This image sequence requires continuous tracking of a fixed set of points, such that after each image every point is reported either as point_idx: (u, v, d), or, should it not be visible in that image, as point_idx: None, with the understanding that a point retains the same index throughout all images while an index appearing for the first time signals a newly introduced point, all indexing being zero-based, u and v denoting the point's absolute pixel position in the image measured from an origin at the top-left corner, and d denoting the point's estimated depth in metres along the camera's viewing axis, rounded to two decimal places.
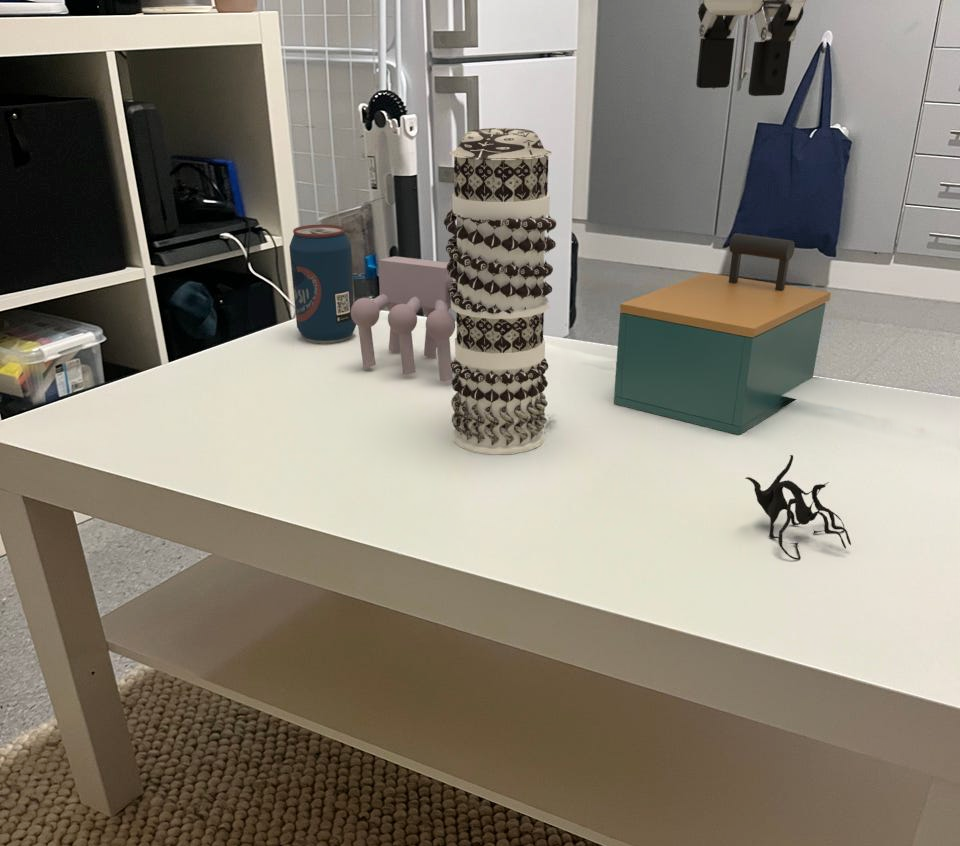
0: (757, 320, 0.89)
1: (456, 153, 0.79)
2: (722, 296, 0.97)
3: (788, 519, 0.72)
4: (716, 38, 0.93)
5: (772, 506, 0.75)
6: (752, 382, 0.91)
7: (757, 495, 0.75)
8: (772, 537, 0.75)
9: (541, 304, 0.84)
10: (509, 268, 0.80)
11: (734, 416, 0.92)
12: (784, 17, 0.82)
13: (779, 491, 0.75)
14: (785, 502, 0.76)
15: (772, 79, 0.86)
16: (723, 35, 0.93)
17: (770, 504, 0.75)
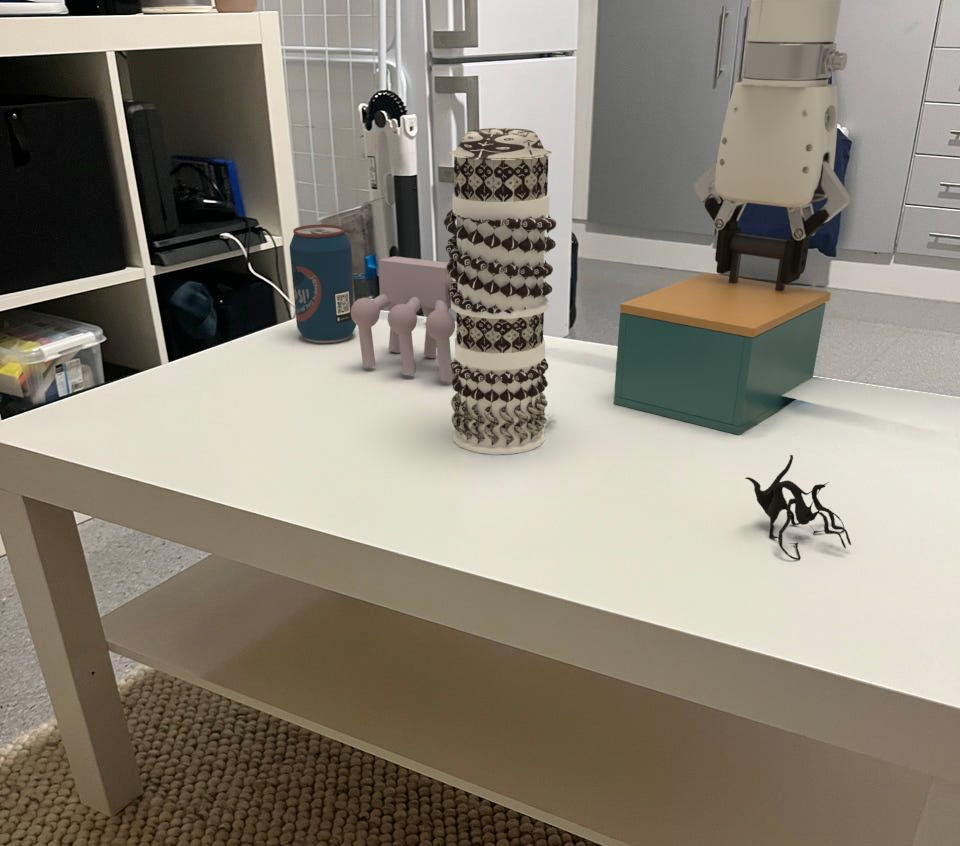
0: (757, 320, 0.89)
1: (456, 153, 0.79)
2: (722, 296, 0.97)
3: (788, 519, 0.72)
4: (732, 229, 0.99)
5: (772, 506, 0.75)
6: (752, 382, 0.91)
7: (757, 495, 0.75)
8: (772, 538, 0.75)
9: (541, 304, 0.84)
10: (509, 268, 0.80)
11: (734, 416, 0.92)
12: (823, 221, 0.93)
13: (779, 491, 0.75)
14: (785, 502, 0.76)
15: (801, 269, 0.97)
16: (735, 226, 0.99)
17: (770, 504, 0.75)
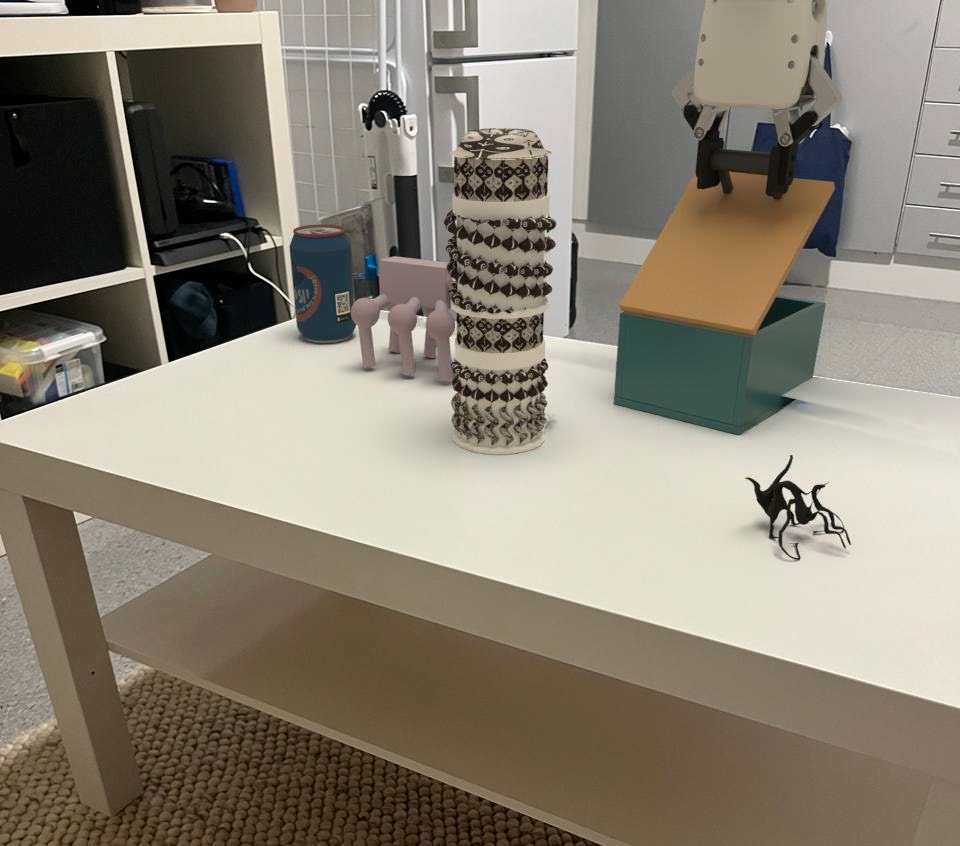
0: (755, 305, 0.88)
1: (456, 153, 0.79)
2: (718, 242, 0.93)
3: (788, 519, 0.72)
4: (713, 139, 0.91)
5: (772, 506, 0.75)
6: (752, 382, 0.91)
7: (757, 495, 0.75)
8: (772, 538, 0.75)
9: (541, 304, 0.84)
10: (509, 268, 0.80)
11: (734, 416, 0.92)
12: (812, 124, 0.84)
13: (779, 491, 0.75)
14: (785, 502, 0.76)
15: (788, 180, 0.88)
16: (717, 136, 0.91)
17: (770, 504, 0.75)
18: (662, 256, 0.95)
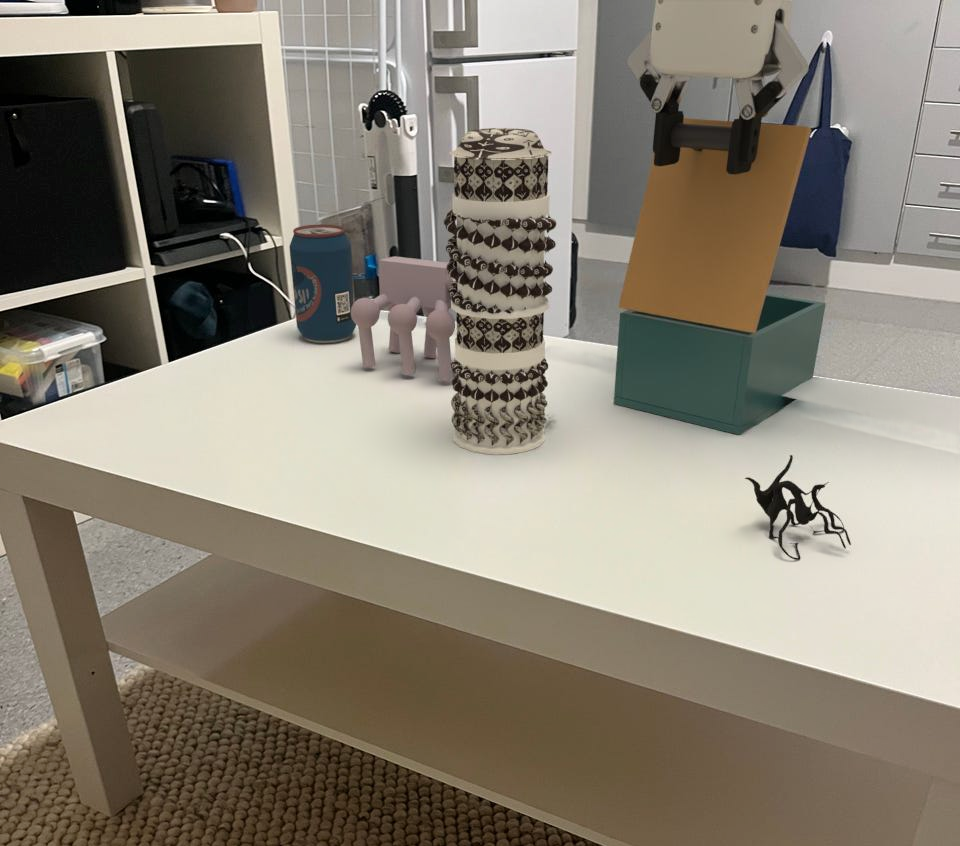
0: (749, 301, 0.87)
1: (456, 153, 0.79)
2: (700, 220, 0.89)
3: (788, 519, 0.72)
4: (672, 112, 0.84)
5: (772, 506, 0.75)
6: (752, 382, 0.91)
7: (757, 495, 0.75)
8: (772, 538, 0.75)
9: (541, 304, 0.84)
10: (509, 268, 0.80)
11: (734, 416, 0.92)
12: (776, 95, 0.78)
13: (779, 491, 0.75)
14: (785, 502, 0.76)
15: (751, 157, 0.82)
16: (676, 109, 0.84)
17: (770, 504, 0.75)
18: (648, 242, 0.92)
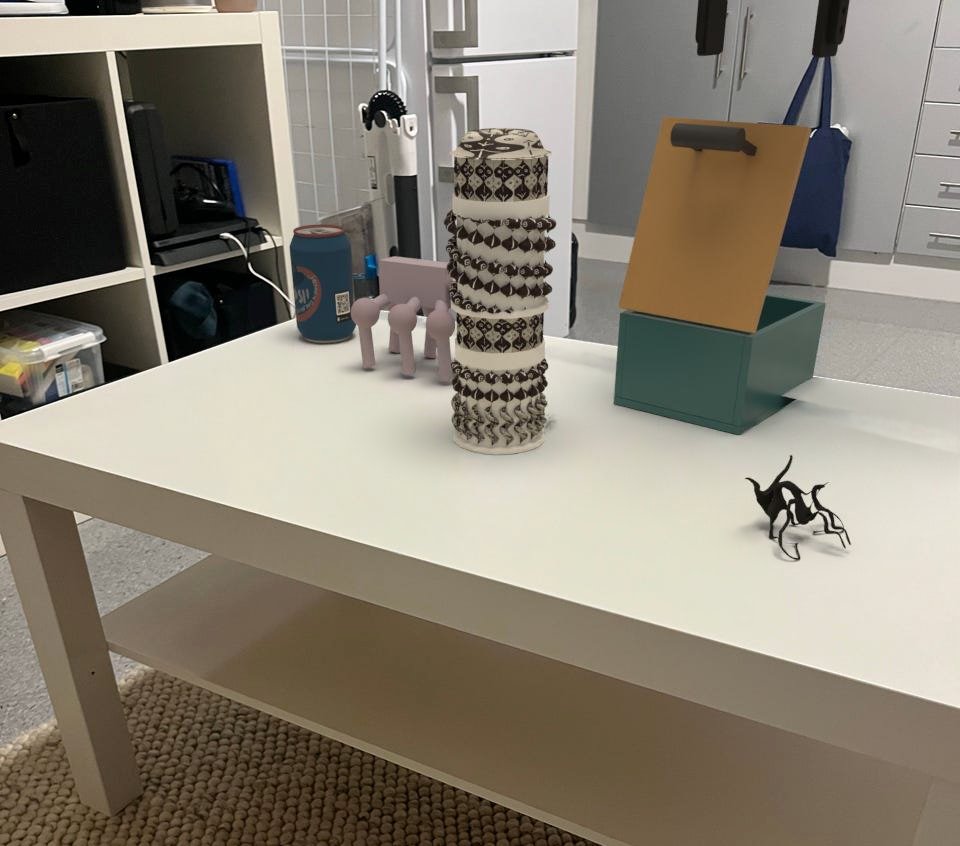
0: (749, 301, 0.87)
1: (456, 153, 0.79)
2: (700, 220, 0.89)
3: (788, 519, 0.72)
4: None
5: (772, 506, 0.74)
6: (752, 382, 0.91)
7: (757, 495, 0.75)
8: (772, 538, 0.75)
9: (541, 304, 0.84)
10: (509, 268, 0.80)
11: (734, 416, 0.92)
12: None
13: (779, 491, 0.75)
14: (785, 502, 0.76)
15: (839, 37, 0.75)
16: None
17: (770, 504, 0.75)
18: (648, 242, 0.92)
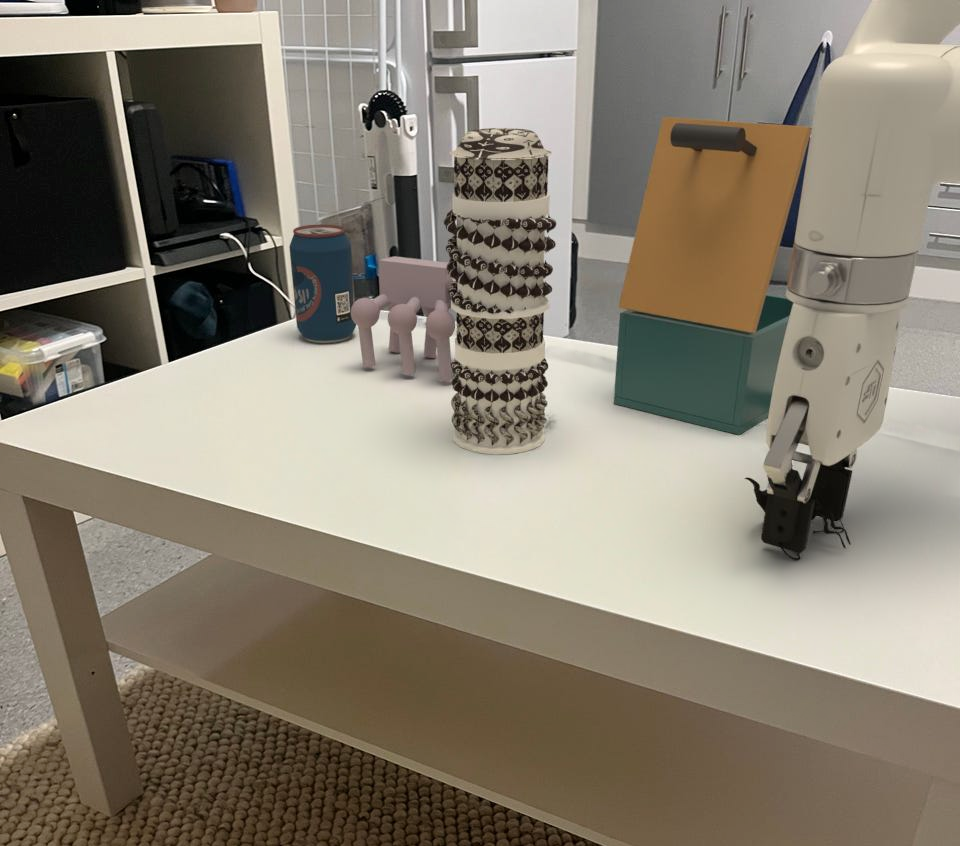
0: (749, 301, 0.87)
1: (456, 153, 0.79)
2: (700, 220, 0.89)
3: None
4: (826, 466, 0.74)
5: None
6: (752, 382, 0.91)
7: (756, 495, 0.75)
8: None
9: (541, 304, 0.84)
10: (509, 268, 0.80)
11: (734, 416, 0.92)
12: (768, 480, 0.68)
13: None
14: None
15: (778, 535, 0.71)
16: (835, 465, 0.74)
17: None
18: (648, 242, 0.92)
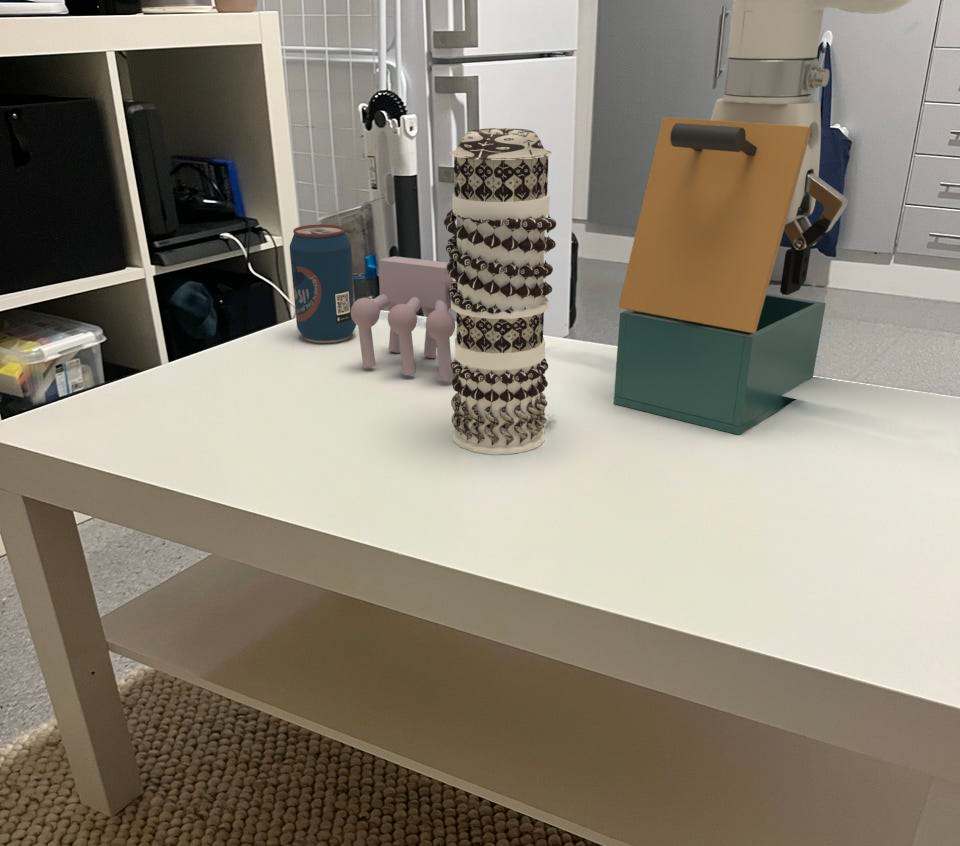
0: (749, 301, 0.87)
1: (456, 153, 0.79)
2: (700, 220, 0.89)
3: None
4: None
5: None
6: (752, 382, 0.91)
7: None
8: None
9: (541, 304, 0.84)
10: (509, 268, 0.80)
11: (734, 416, 0.92)
12: (824, 231, 0.90)
13: None
14: None
15: (802, 279, 0.94)
16: None
17: None
18: (648, 242, 0.92)
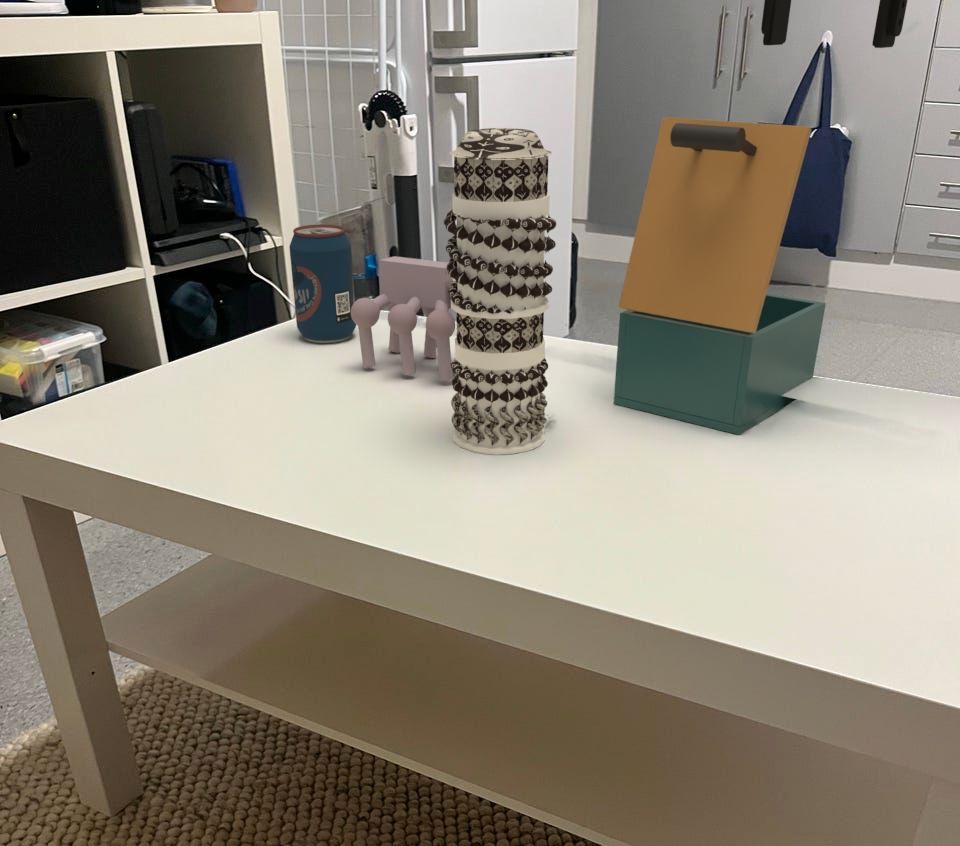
0: (749, 301, 0.87)
1: (456, 153, 0.79)
2: (700, 220, 0.89)
3: None
4: None
5: None
6: (752, 382, 0.91)
7: None
8: None
9: (541, 304, 0.84)
10: (509, 268, 0.80)
11: (734, 416, 0.92)
12: None
13: None
14: None
15: (897, 29, 0.82)
16: None
17: None
18: (648, 242, 0.92)
